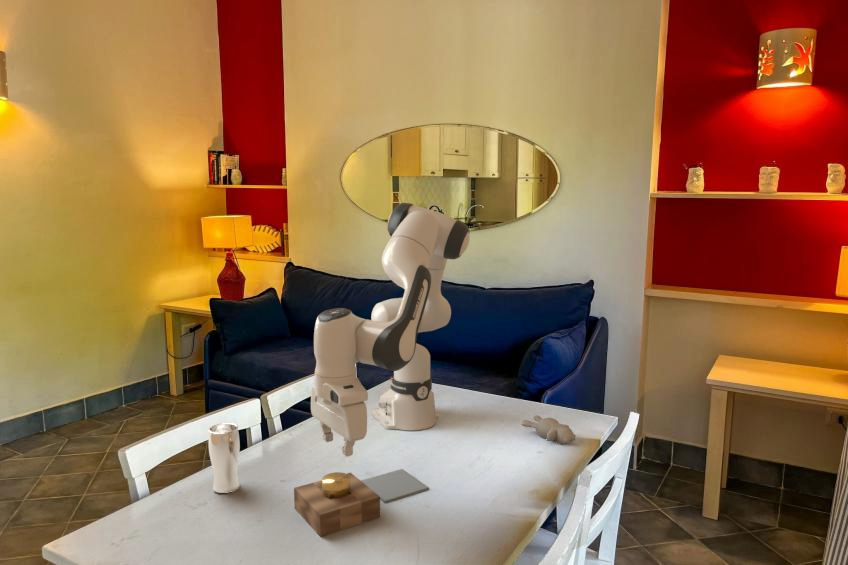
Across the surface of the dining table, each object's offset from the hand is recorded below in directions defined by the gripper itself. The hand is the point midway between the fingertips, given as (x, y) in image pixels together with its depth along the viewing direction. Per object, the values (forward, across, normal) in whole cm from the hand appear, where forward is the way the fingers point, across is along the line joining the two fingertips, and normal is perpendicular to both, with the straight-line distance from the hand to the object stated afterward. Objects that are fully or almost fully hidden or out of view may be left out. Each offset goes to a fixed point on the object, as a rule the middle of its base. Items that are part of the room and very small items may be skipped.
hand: (337, 447), depth 135 cm
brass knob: (+15, -1, 0) cm, 15 cm away
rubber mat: (+15, -5, +17) cm, 23 cm away
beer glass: (+15, -26, -17) cm, 35 cm away
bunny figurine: (+15, -6, +70) cm, 72 cm away
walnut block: (+15, -1, 0) cm, 15 cm away
